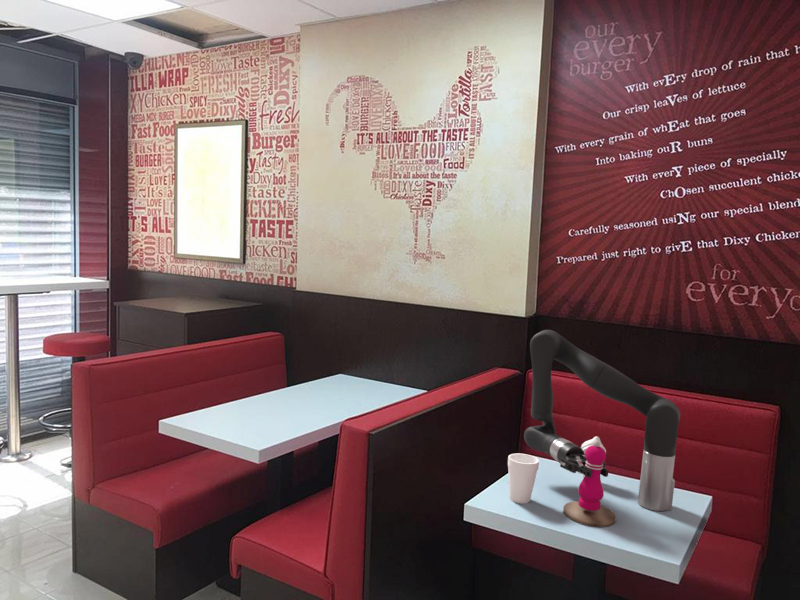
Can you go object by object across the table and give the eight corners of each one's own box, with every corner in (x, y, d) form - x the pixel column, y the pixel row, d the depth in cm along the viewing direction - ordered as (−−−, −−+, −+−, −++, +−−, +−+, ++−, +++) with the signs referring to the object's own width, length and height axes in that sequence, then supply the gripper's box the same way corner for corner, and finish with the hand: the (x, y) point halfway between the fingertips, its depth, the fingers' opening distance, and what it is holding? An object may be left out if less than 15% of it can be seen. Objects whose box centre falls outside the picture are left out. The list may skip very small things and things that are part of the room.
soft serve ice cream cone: (572, 480, 228) (577, 434, 227) (585, 475, 234) (590, 430, 232) (594, 488, 222) (599, 441, 221) (607, 483, 228) (612, 437, 226)
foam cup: (526, 508, 202) (530, 466, 200) (498, 499, 207) (502, 458, 206) (540, 499, 209) (544, 459, 208) (513, 490, 215) (517, 451, 213)
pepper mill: (605, 512, 196) (614, 445, 194) (582, 511, 196) (590, 444, 193) (595, 501, 204) (603, 437, 201) (573, 500, 203) (580, 436, 200)
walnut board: (604, 506, 208) (605, 502, 207) (623, 528, 193) (624, 524, 193) (556, 504, 207) (557, 500, 206) (572, 525, 192) (572, 521, 192)
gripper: (548, 442, 209) (579, 462, 193) (587, 441, 214) (621, 460, 198) (545, 465, 210) (576, 487, 194) (585, 464, 214) (618, 485, 198)
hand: (598, 474), depth 196 cm, fingers closed on pepper mill, 5 cm apart
